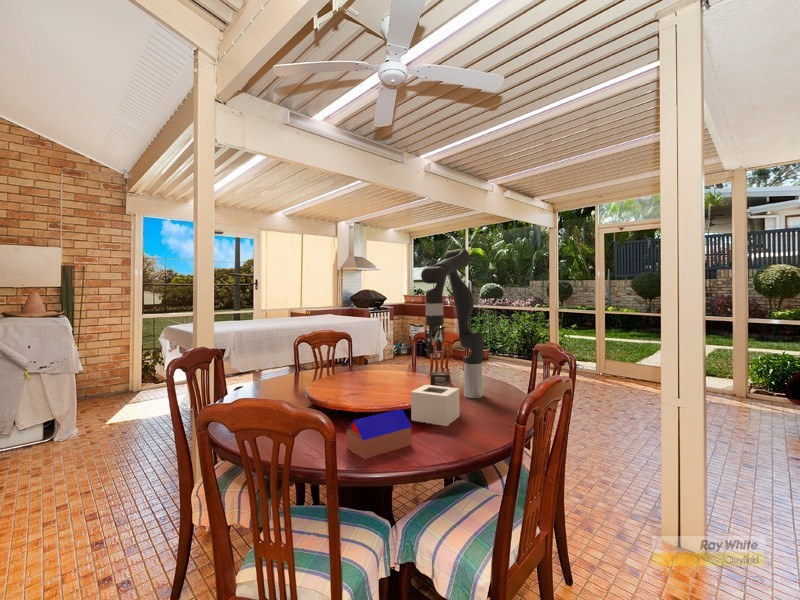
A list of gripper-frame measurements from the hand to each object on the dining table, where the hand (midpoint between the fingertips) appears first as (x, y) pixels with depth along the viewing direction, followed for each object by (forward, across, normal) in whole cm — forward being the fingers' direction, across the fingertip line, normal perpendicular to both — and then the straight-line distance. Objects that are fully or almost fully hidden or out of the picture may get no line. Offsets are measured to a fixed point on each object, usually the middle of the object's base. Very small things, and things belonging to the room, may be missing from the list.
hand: (435, 352), depth 164 cm
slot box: (+28, 0, 0) cm, 28 cm away
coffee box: (+28, -14, -4) cm, 32 cm away
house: (+28, +37, -5) cm, 47 cm away
